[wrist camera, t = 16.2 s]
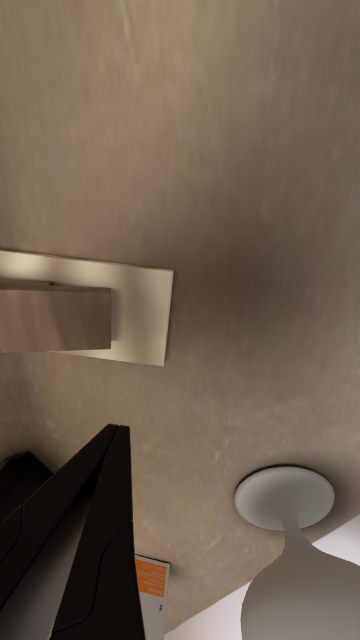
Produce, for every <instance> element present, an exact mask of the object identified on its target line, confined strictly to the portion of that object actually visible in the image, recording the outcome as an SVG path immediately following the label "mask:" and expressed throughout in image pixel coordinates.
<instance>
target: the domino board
mask: <svg viewBox="0 0 360 640" xmlns="http://www.w3.org/2000/svg"><path fill="white" fill-rule="evenodd" d="M173 274H174V270H169V269H161V268H152V267H144V266H136V265H128V264H119V263H111V262H103V261H95V260H86V259H78V258H70V257H62V256H54V255H45V254H37V253H29V252H21V251H12V250H4V249H0V279H16V280H37V281H53V286H72V287H99V288H111V349H104V350H75V351H49V352H56V353H64V354H72V355H79V356H87V357H95V358H102V359H110V360H118V361H125V362H133V363H140V364H148V365H156V366H163V367H164V363H165V356H166V345H167V335H168V325H169V315H170V305H171V294H172V284H173Z"/></svg>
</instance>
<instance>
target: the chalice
mask: <svg viewBox="0 0 360 640" xmlns="http://www.w3.org/2000/svg"><path fill="white" fill-rule="evenodd" d="M334 499H335V494H334V489H333V487H332V486H331V484H330V483H329V482H328V481H327V480H326V479H325V478H324V477H323V476H321V475H319V474H317V473H316V472H314V471H311V470H307V469H304V468H298V467H275V468H269V469H265V470H262V471H259V472H257V473H254V474H253V475H251V476H249V477H247V478H246V479H245V480H244V481H243V482H242V483H240V485H239V486H238V488H237V489H236V491H235V494H234V505H235V508H236V510H237V512H238V513H239V514H240V515H241V516H242V517H243V518H244V519H245V520H247V521H248V522H250V523H251V524H253V525H256V526H258V527H261V528H264V529H268V530H276V531H285V539H286V541H285V546H284V549H283V551H282V553H281V555H280V556H279V557H278V558H277V559H276V560H274V561H273V562H272V563H271V564H269V565H268V566H267V567H266V568H264V569H263V570H262V571H261V572H260V573H259V574H258V575H257V576H256V577H255V578H254V580H253V581H252V582H251V583H250V585H249V587H248V590H247V592H246V595H245V598H244V601H243V604H242V611H241V631H242V640H360V566H358V565H356V564H354V563H352V562H349V561H346V560H344V559H341V558H338V557H335V556H332V555H329V554H327V553H325V552H322V551H320V550H318V549H317V548H316V547H314V546H313V545H312V544H311V543H310V542H309V541H308V540H307V539H306V538H305V536H304V534H303V533H302V531H301V528H305V527H308V526H310V525H312V524H315V523H317V522H318V521H320V520H321V519H323V518H324V517H325V516H326V515H327V514H328V513H329V511H330V510H331V508H332V506H333V504H334Z"/></svg>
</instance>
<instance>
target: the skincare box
mask: <svg viewBox="0 0 360 640" xmlns="http://www.w3.org/2000/svg"><path fill="white" fill-rule="evenodd" d="M135 563H136V571H137V580H138V587H139V594H140V601H141V608H142V615H143V622H144V629H145V636H146V640H163V639H164V628H165V617H166V605H167V594H168V582H169V571H170V564H169V563H163V562H159V561H156V560H152V559H148V558H145V557H141V556H139V555H135Z"/></svg>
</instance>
